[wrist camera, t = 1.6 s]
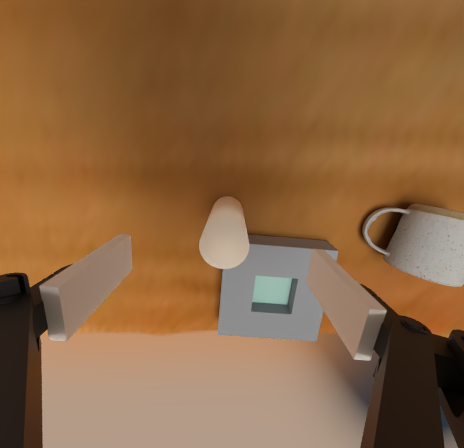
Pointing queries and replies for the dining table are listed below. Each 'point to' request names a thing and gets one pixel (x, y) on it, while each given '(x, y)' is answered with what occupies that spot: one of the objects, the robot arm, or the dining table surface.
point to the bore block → (272, 291)
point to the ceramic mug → (425, 243)
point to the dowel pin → (225, 235)
